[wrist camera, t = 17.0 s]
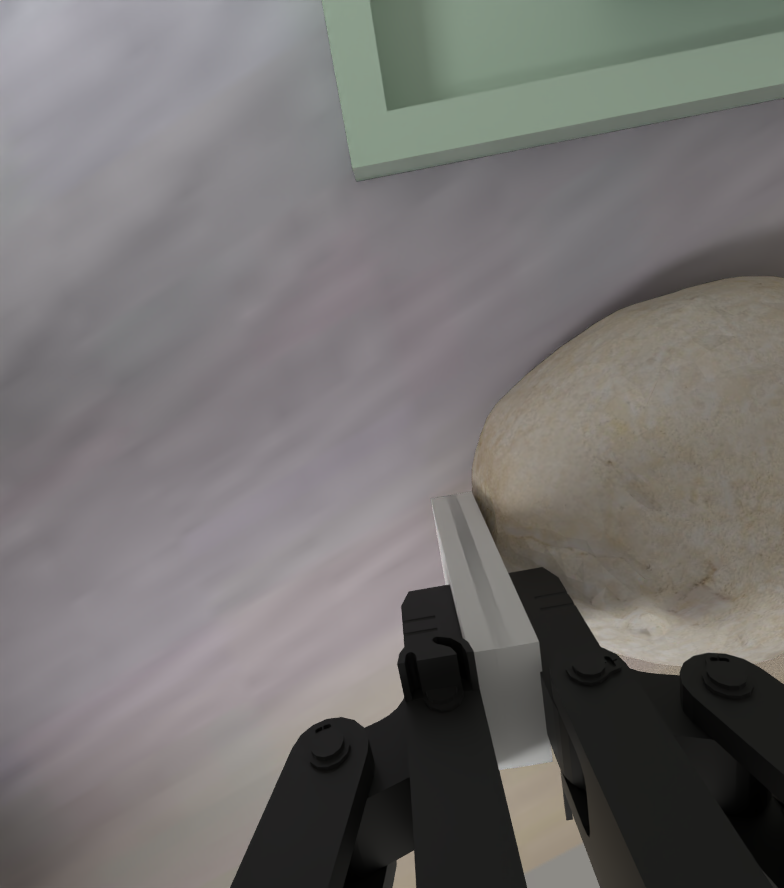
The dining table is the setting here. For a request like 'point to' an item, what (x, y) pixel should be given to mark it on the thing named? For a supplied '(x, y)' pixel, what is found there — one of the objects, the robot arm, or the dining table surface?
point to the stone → (653, 473)
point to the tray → (538, 71)
